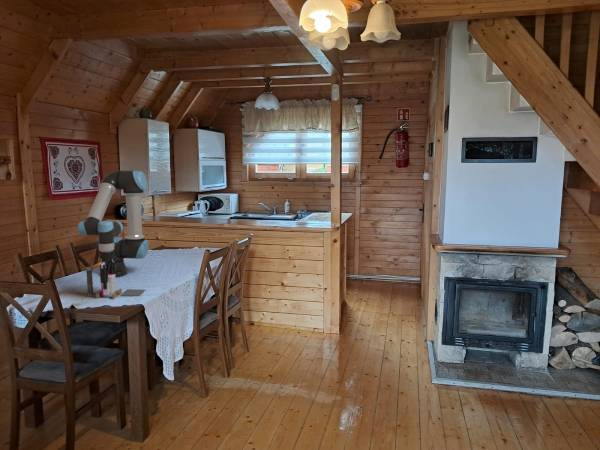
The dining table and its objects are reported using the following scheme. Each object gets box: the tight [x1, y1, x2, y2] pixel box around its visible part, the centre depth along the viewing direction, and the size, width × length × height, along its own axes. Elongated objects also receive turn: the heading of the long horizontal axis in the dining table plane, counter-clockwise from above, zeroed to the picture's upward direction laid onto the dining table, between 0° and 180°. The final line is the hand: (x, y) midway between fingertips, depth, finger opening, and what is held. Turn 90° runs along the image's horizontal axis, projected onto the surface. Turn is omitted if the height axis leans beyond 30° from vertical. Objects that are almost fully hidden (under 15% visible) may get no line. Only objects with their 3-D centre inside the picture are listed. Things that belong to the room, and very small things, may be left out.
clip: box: [85, 261, 102, 272], centre depth 245 cm, size 3×17×2 cm, turn 169°
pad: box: [119, 288, 146, 297], centre depth 246 cm, size 10×10×1 cm
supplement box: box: [100, 274, 117, 298], centre depth 240 cm, size 6×6×12 cm
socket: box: [86, 270, 123, 300], centre depth 240 cm, size 10×16×14 cm, turn 89°
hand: (108, 292), depth 241 cm, fingers closed on supplement box, 6 cm apart
